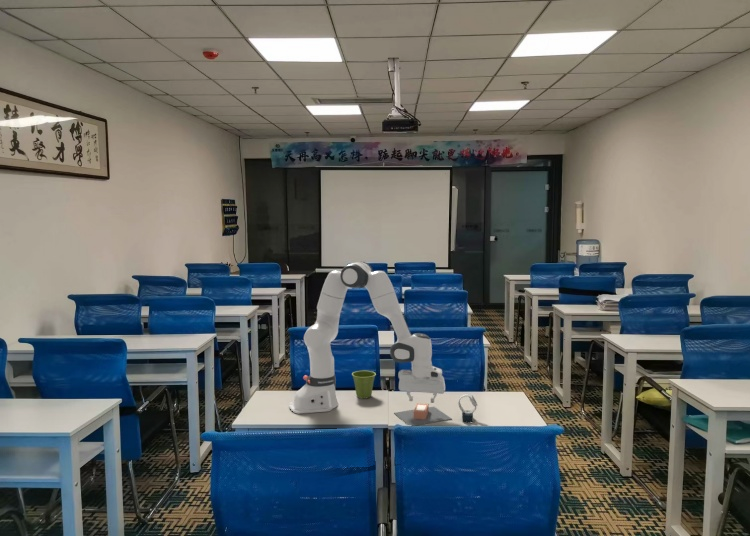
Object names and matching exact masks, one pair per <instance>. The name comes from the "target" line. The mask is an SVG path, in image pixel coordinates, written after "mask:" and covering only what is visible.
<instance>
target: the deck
mask: <svg viewBox="0 0 750 536" xmlns="http://www.w3.org/2000/svg"><path fill="white" fill-rule="evenodd" d="M428 407H429V404H428V403H419V402H418V403H416V405H415V408H414V409H413V410H414V418H415V419H426V416H427V414H428Z"/></svg>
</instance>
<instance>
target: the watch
mask: <svg viewBox="0 0 750 536" xmlns="http://www.w3.org/2000/svg"><path fill="white" fill-rule="evenodd" d="M465 397H468V398H469V401H470V403H471V405H472V406H473V407H474V408H473V409H472V410H465V409H464V408H463V407H462V404H461V400H462V398H465ZM457 404H458V407H459V409H460V411H461V419H462V420H461V422H462V423H468V422H469V423H470V422H473V423H474V413H475V412H476V410H477V407H478V403H477V400H476V399H475V397H474V396H473V395H471V394H469V393H464V394H462V395H461V396H459V398H458V403H457Z"/></svg>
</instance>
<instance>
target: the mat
mask: <svg viewBox="0 0 750 536" xmlns="http://www.w3.org/2000/svg"><path fill="white" fill-rule="evenodd" d="M393 415H395V416H396V417H397V418H399V419H400V420H401V421H402V420H403V421H404V422H405V423H404V424H406V423H407V424H408V425H417V426H420V425H421V426H422V425H428V424H432V423H440V422H445V421H452V418H451V417H450V415H447V414H446V413H444V412H443V411H441V410H440V409H438V408H437V407H436V406H430V407H429V406H428V414H427V416H426V419H415V418H414V409H411V410H410V409H409V410H403V411H397V412H396V411H395V412H393ZM403 421H402V422H403ZM407 424H406V425H407ZM408 425H407V426H408Z"/></svg>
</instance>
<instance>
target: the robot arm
mask: <svg viewBox="0 0 750 536" xmlns="http://www.w3.org/2000/svg"><path fill="white" fill-rule="evenodd" d="M349 288H351V289H364V288H365V289H366V290H367V291H368V294H369V297H370V300H371V303H372V305H373V307H374V309H375V311H376V312H377V314H379V315H381V316H384V317H385V318H387V319H388V320H389V321H390V322H391V325H392V328H393V330H394V333H395V335H396V338H397V340H396V341H395V342H394V343H393V344H392V345H391V347H390V349H389V354H390V357H391V359H392V360H393V361H394V362H396V363H398V364H404V363H406V364H407V363H411V369H401V370H400V371H398V376H397V377H398V379H399V381H398V390H399V391H401V392H406V395H407V396H408V401H409V402H413V401H414V396H412V395H411V392H413V393H414V392H415V393H426V394H427V393H428V394H432V396H433V397H431V398H430V403H431V404H432V403H433V404H435V399H436V397H437V395H438V394H440V395H441V394H444V393H445V392H446V383H445V377H444V376H443V369H442V368H439V367H436V366H434V365H433V363H432V356H433V349H432V348H433V346H432V345H433V344H432V339H431V337H429V335H427V334H425V333H421V332H417V333H413V334H412V333H411V330H410V329H409V326H408V324H407V321H406V317H405V316H404V314H403V312H402V310H401V309H402V308H401V306H400V304H399V300H398V297H397V293H396V291H395V287H394V286H393V283H392V282H391V279H390V278H389V276H388V275H387V273H386V272H385V271H384V270H375V271H373V267H371V265H370V264H369V263H367V262H365V261H356V262H355V261H354V262H352V263H348V264H347V265H345V266H344V267H343V268H342V270H332V271H330V272H329V273H328V274H327V276H326V278H325V279H324V283H323V285H322V288H321V291H320V295H319V299H318V302H317V305H316V310H317V314H316V320H315V322H314V324H312V325H311V326H309V327H308V328H307V329H306V331H305V333H304V334H303V342H304V344H305V346H306V347H307V351H308V357H309V369H310V372H309V373H310V374H309V376H308V375H306V374H305V375H304V376H303V378H302V379H303V380H304V381H305V384H304V385H303V386H302V387H301V388H300V389H298V390H297V391H296V392H295V393H294V394H295V395H294V399H293V401H290V403H289V404H288V405H289V406H288V407H289V410H290V409H291V410H290V411H291V412H292V411H293V412H292V413H295V414H296V415H297V414H309V413H323V412H331V411H332V410H333V409H334V408H337V406H339V401H338V399H337V394H336V384H337V383H336V381H337V379H336V374H335V357H334V355H333V353H332V348H331V342H333V341H334V340H335V339H336V338H337V336H338V333H339V325H340V324H339V323H340V316H341V312H342V308H343V305H344V302H345V298H346V294H347V291H348V289H349Z"/></svg>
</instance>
